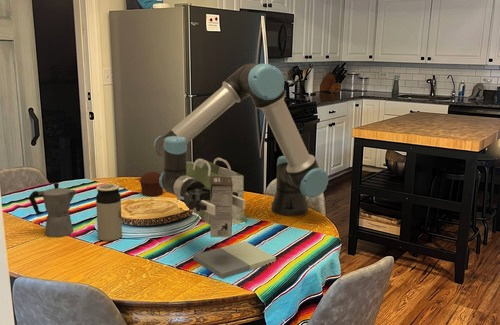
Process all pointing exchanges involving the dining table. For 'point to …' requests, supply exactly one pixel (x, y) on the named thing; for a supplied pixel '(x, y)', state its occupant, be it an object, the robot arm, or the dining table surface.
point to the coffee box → (221, 206)
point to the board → (233, 259)
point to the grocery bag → (202, 173)
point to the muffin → (151, 184)
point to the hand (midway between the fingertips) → (229, 207)
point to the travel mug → (108, 212)
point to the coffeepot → (55, 210)
